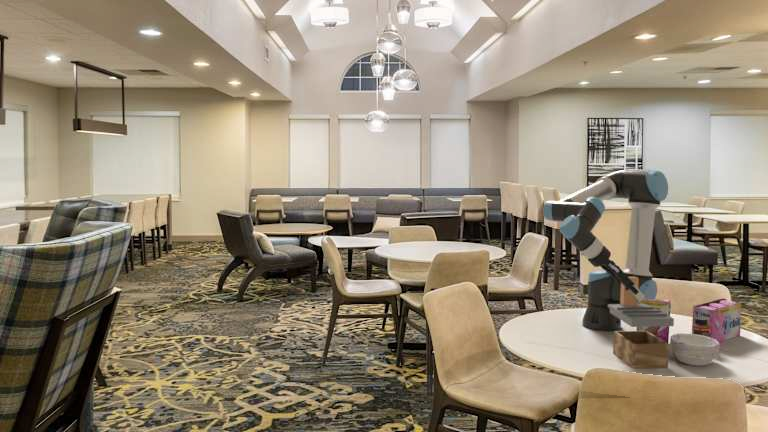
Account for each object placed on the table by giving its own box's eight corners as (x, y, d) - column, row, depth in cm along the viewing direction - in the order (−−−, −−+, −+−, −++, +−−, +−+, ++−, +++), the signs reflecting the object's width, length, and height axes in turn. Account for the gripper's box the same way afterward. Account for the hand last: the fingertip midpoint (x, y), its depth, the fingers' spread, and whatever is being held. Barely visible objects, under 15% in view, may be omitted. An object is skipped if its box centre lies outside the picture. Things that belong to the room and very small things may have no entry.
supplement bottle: (712, 349, 232) (714, 319, 231) (703, 352, 229) (704, 321, 228) (697, 345, 237) (698, 315, 236) (687, 347, 234) (689, 317, 233)
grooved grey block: (607, 311, 229) (608, 276, 228) (645, 310, 230) (647, 276, 228) (631, 326, 209) (633, 289, 208) (673, 326, 210) (675, 288, 209)
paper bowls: (728, 368, 212) (729, 345, 211) (684, 369, 211) (685, 346, 210) (702, 354, 227) (703, 332, 226) (660, 355, 226) (661, 333, 225)
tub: (612, 353, 228) (613, 331, 227) (645, 352, 228) (646, 330, 228) (632, 368, 212) (633, 344, 211) (667, 367, 212) (669, 344, 212)
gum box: (721, 330, 258) (723, 297, 256) (742, 335, 251) (744, 301, 250) (690, 340, 244) (692, 305, 242) (711, 345, 237) (713, 310, 236)
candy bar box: (636, 343, 240) (638, 300, 239) (635, 339, 245) (637, 297, 243) (669, 346, 237) (671, 302, 235) (667, 342, 241) (669, 299, 240)
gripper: (579, 255, 233) (622, 299, 236) (596, 263, 217) (642, 310, 220) (594, 241, 233) (637, 285, 235) (612, 248, 217) (658, 295, 219)
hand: (639, 297), depth 228 cm, fingers closed on grooved grey block, 3 cm apart
